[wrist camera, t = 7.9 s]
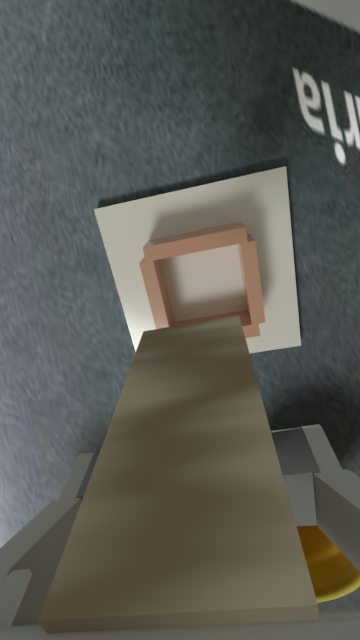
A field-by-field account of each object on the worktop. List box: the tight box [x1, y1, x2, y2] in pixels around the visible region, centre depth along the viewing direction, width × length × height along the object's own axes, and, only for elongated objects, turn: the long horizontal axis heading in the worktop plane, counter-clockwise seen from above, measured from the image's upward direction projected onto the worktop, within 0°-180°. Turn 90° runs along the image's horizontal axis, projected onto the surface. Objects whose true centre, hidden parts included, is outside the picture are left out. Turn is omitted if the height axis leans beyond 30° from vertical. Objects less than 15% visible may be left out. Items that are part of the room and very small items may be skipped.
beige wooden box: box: [39, 315, 319, 633], centre depth 10 cm, size 4×4×10 cm
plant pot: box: [297, 525, 360, 603], centre depth 30 cm, size 10×10×10 cm
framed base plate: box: [94, 166, 301, 353], centre depth 26 cm, size 14×14×4 cm
